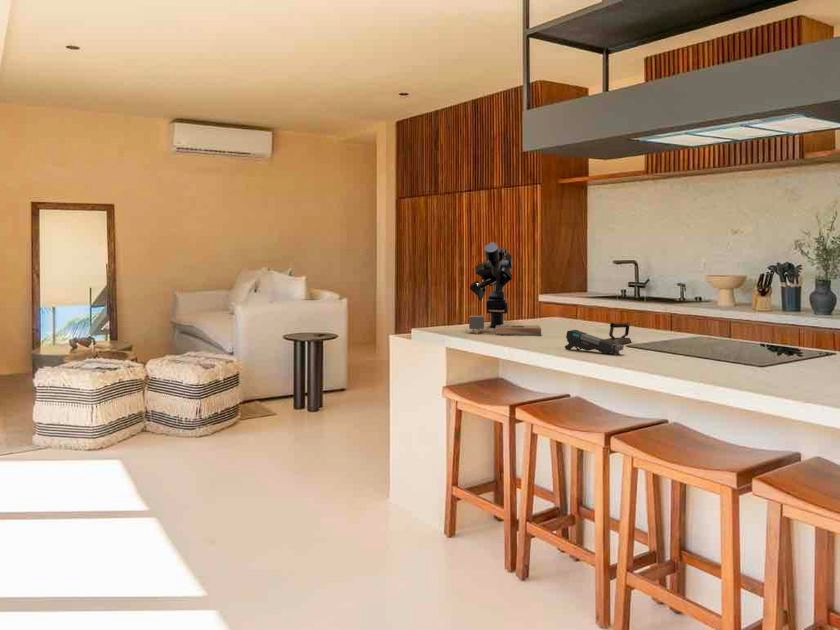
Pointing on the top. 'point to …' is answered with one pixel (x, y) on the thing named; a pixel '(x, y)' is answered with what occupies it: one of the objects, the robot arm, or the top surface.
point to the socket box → (518, 330)
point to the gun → (591, 343)
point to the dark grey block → (476, 323)
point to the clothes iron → (622, 339)
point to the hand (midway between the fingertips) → (488, 296)
